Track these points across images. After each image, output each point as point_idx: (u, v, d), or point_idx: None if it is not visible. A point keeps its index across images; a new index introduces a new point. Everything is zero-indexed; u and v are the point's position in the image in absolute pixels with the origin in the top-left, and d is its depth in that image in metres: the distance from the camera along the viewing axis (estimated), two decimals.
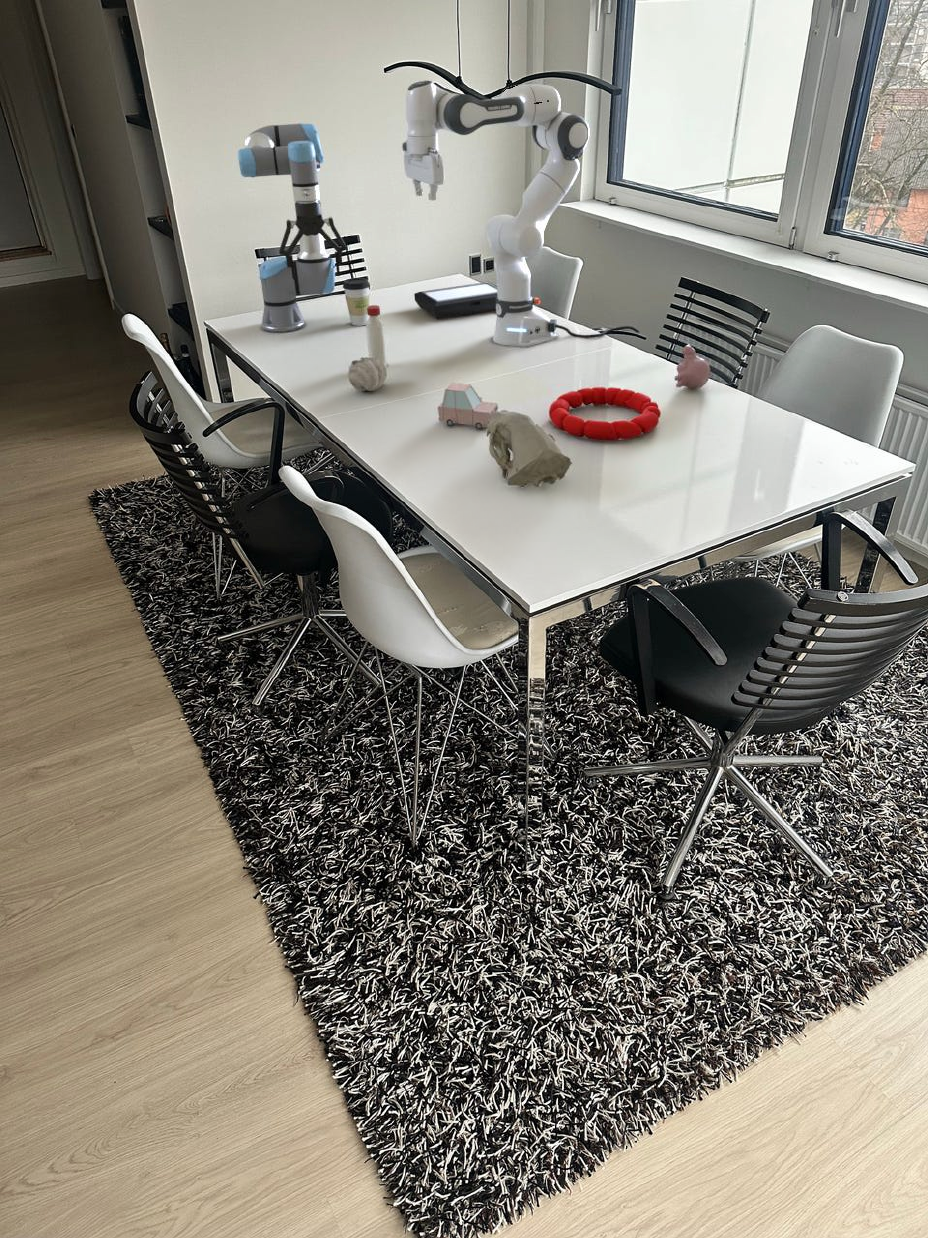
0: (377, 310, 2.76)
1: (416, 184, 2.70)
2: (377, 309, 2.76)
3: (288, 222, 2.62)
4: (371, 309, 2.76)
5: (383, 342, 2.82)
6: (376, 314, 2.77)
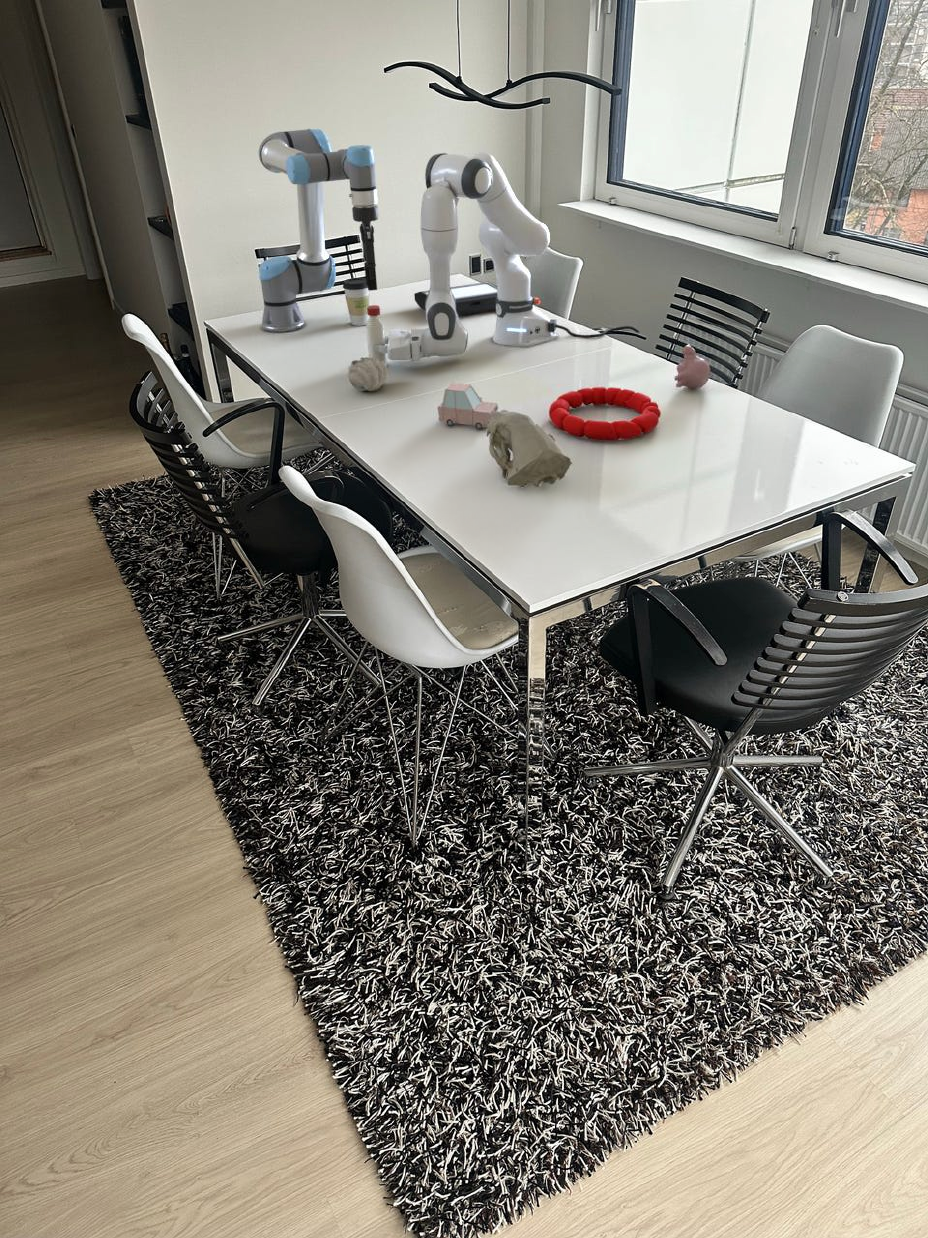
0: (377, 310, 2.76)
1: None
2: (377, 309, 2.76)
3: (360, 225, 2.69)
4: (371, 309, 2.76)
5: (383, 342, 2.82)
6: (376, 314, 2.77)
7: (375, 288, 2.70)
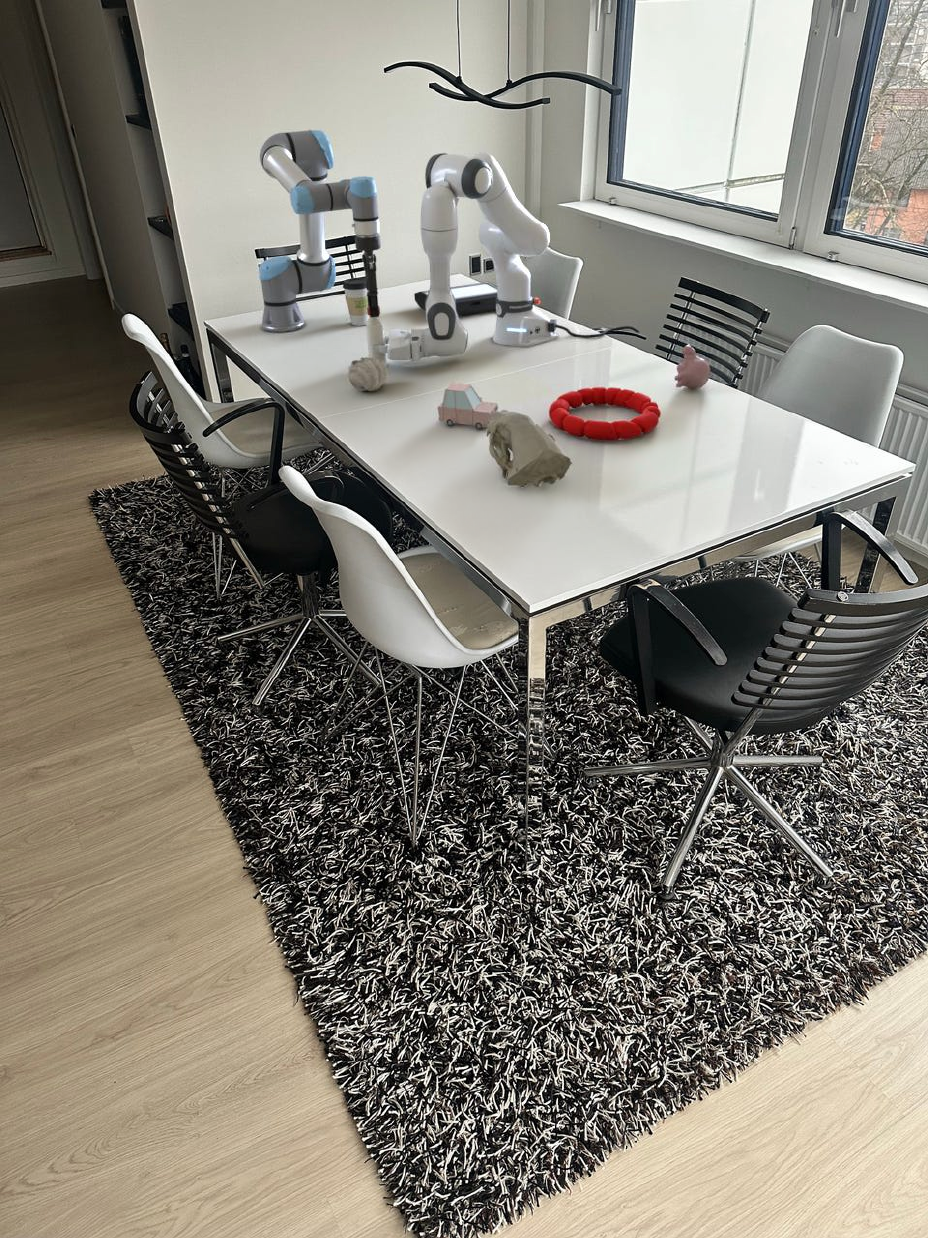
0: None
1: None
2: None
3: (363, 254, 2.74)
4: None
5: (383, 342, 2.82)
6: None
7: (377, 315, 2.76)
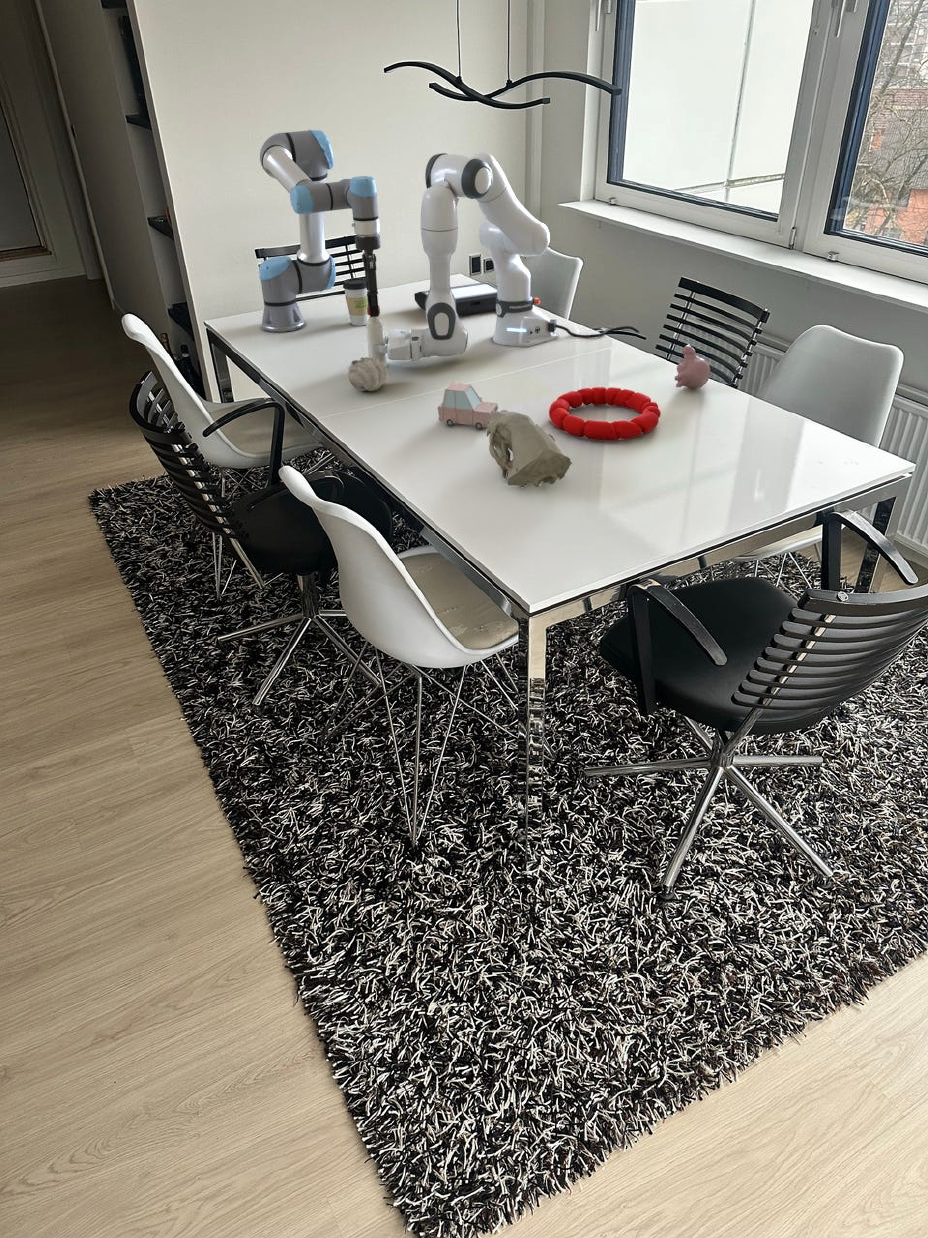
0: None
1: None
2: None
3: (363, 254, 2.74)
4: None
5: (383, 342, 2.82)
6: None
7: (377, 315, 2.76)
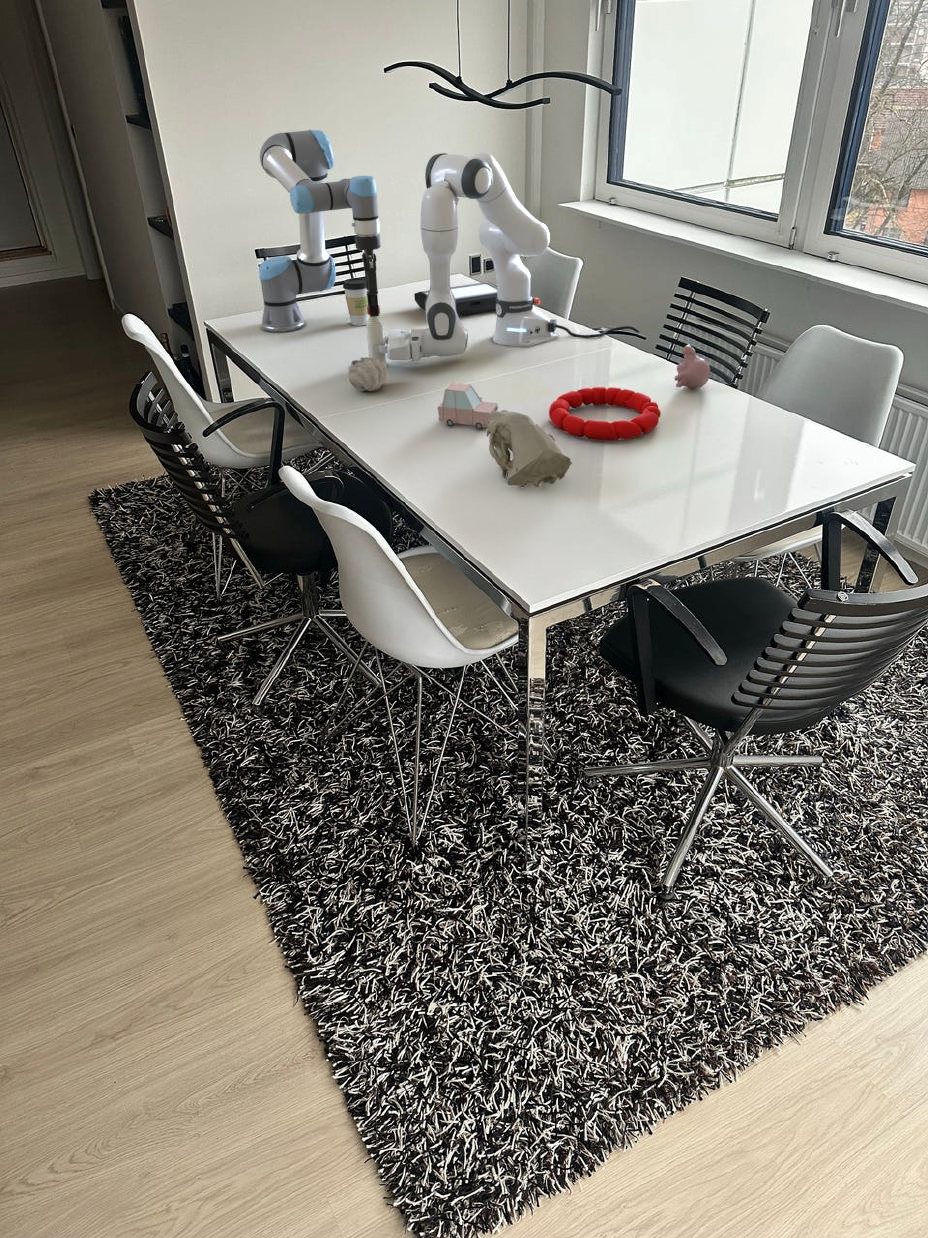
0: None
1: None
2: None
3: (362, 254, 2.74)
4: None
5: (383, 342, 2.82)
6: None
7: (377, 314, 2.76)
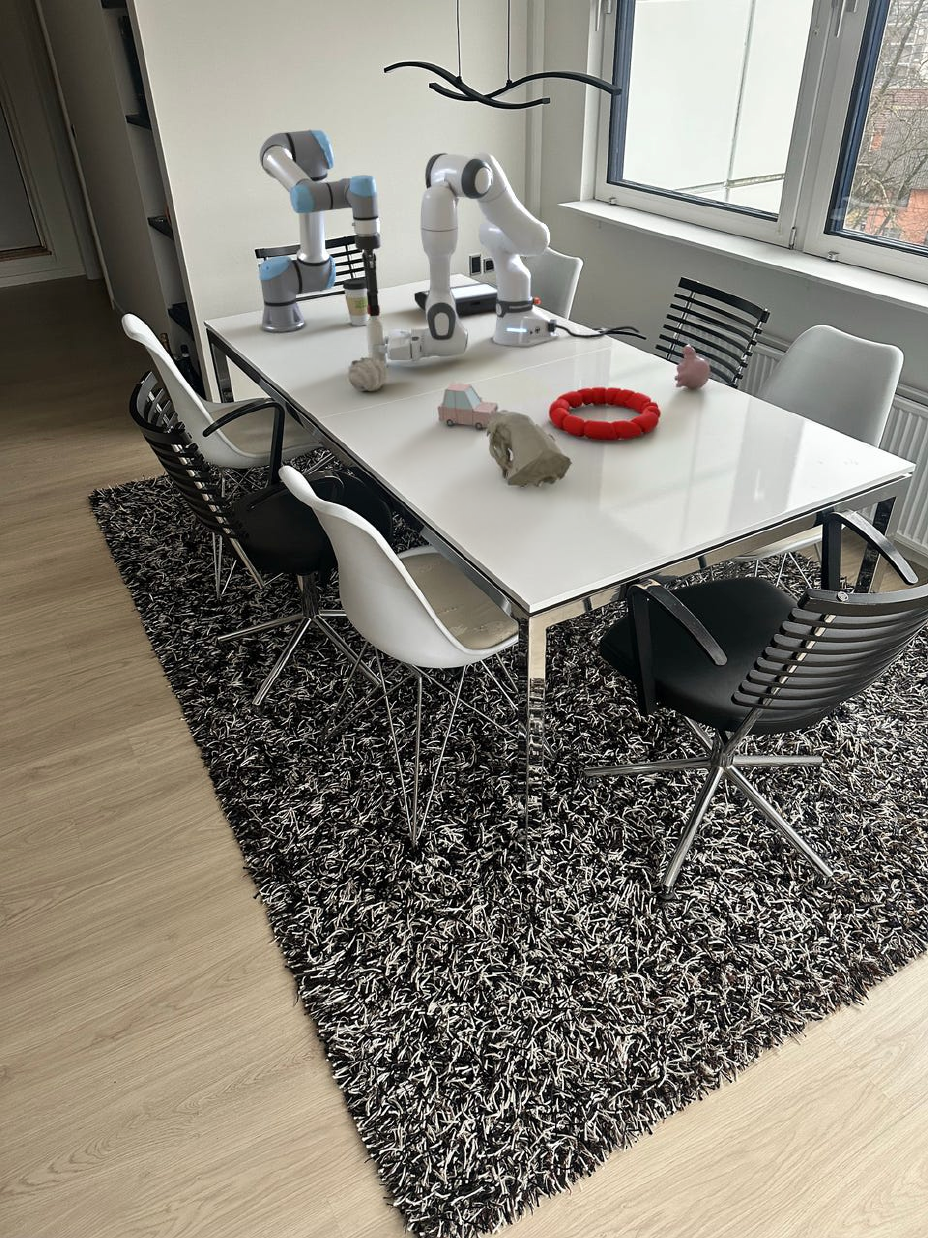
0: None
1: None
2: None
3: None
4: (367, 307, 2.77)
5: (383, 342, 2.82)
6: None
7: (377, 314, 2.76)
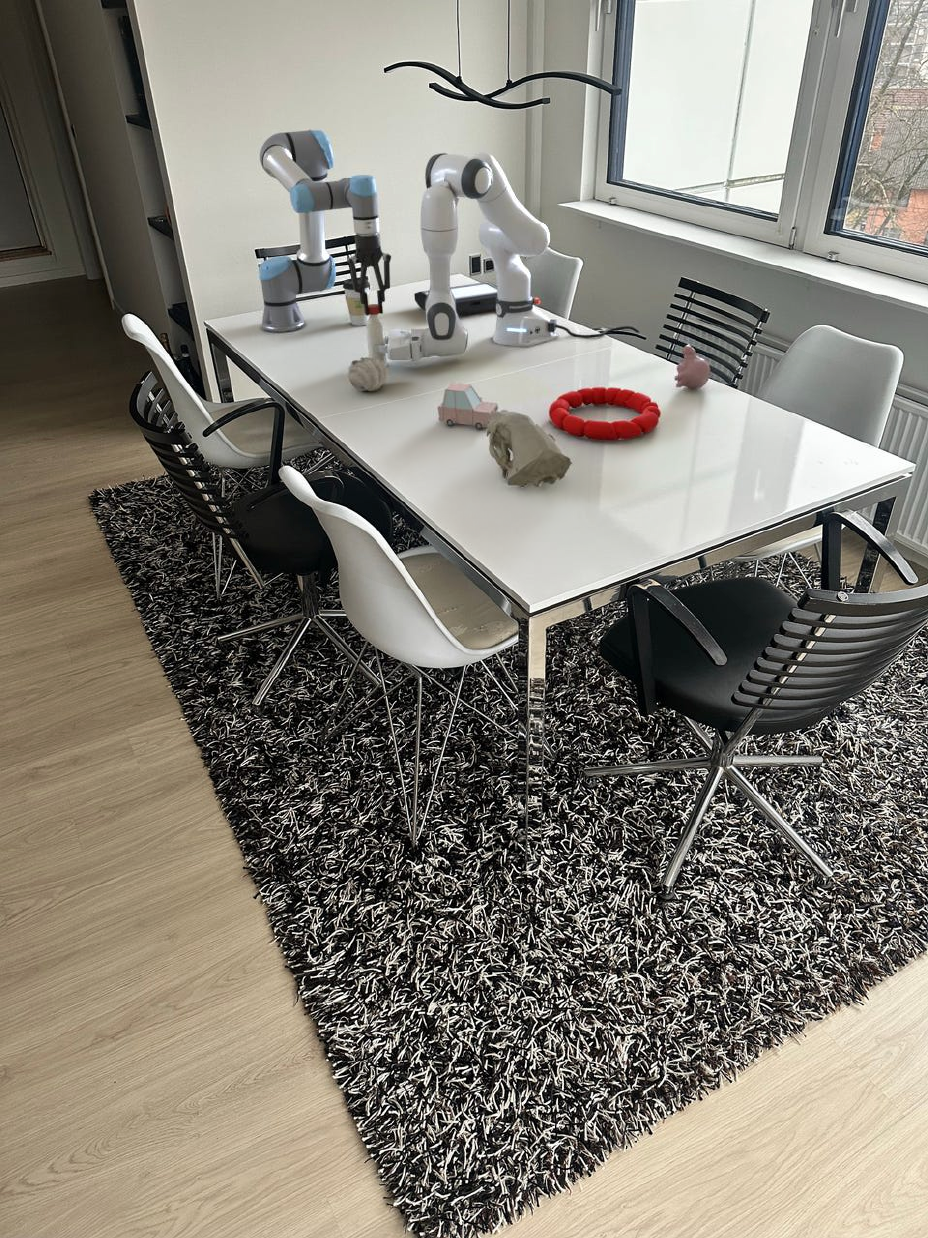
0: (379, 308, 2.77)
1: None
2: (379, 307, 2.77)
3: (350, 260, 2.66)
4: (375, 308, 2.76)
5: (383, 342, 2.82)
6: (379, 312, 2.77)
7: None
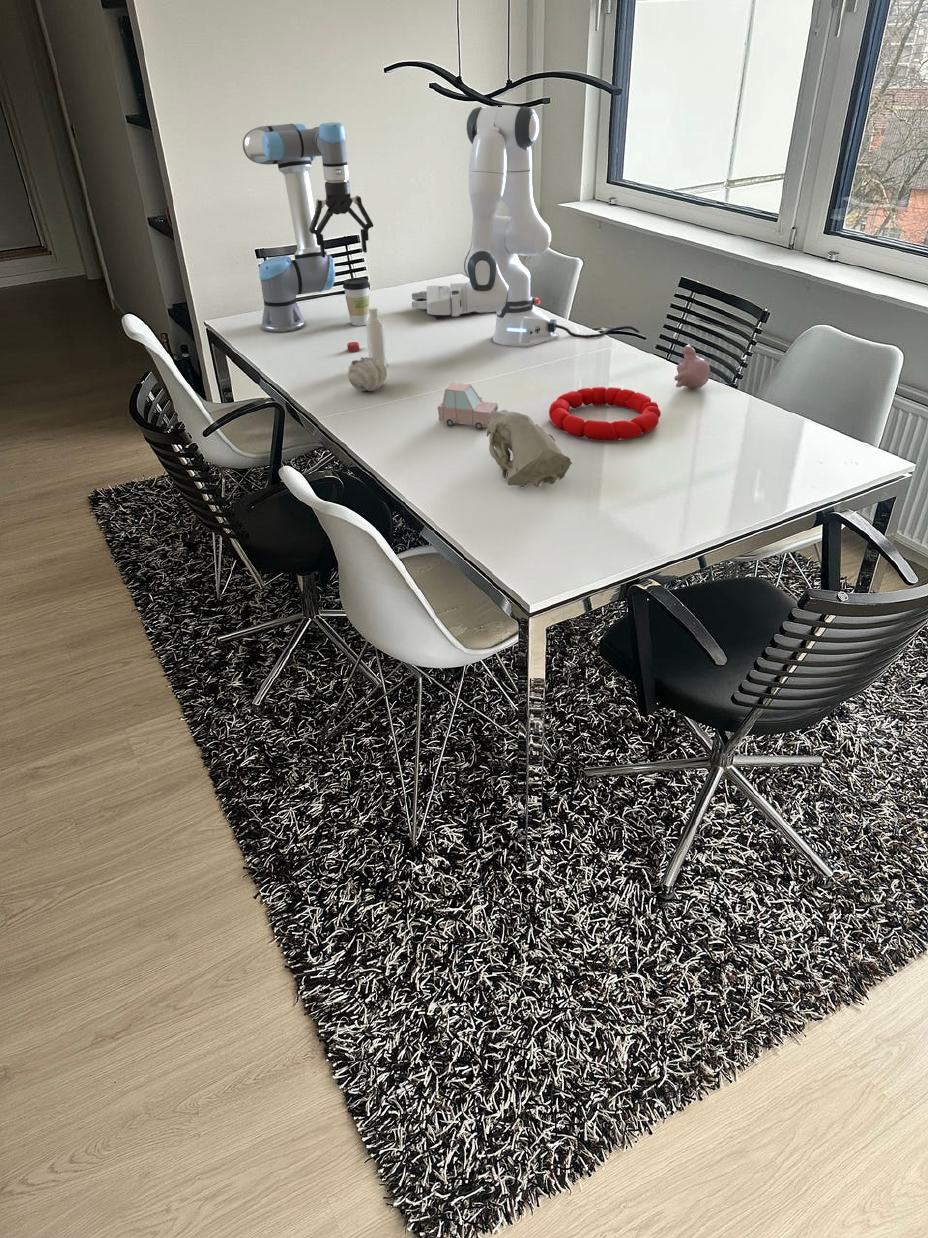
0: (358, 345, 3.00)
1: None
2: (358, 345, 3.00)
3: (319, 201, 2.72)
4: (354, 346, 2.99)
5: (383, 342, 2.82)
6: (358, 349, 3.01)
7: None
